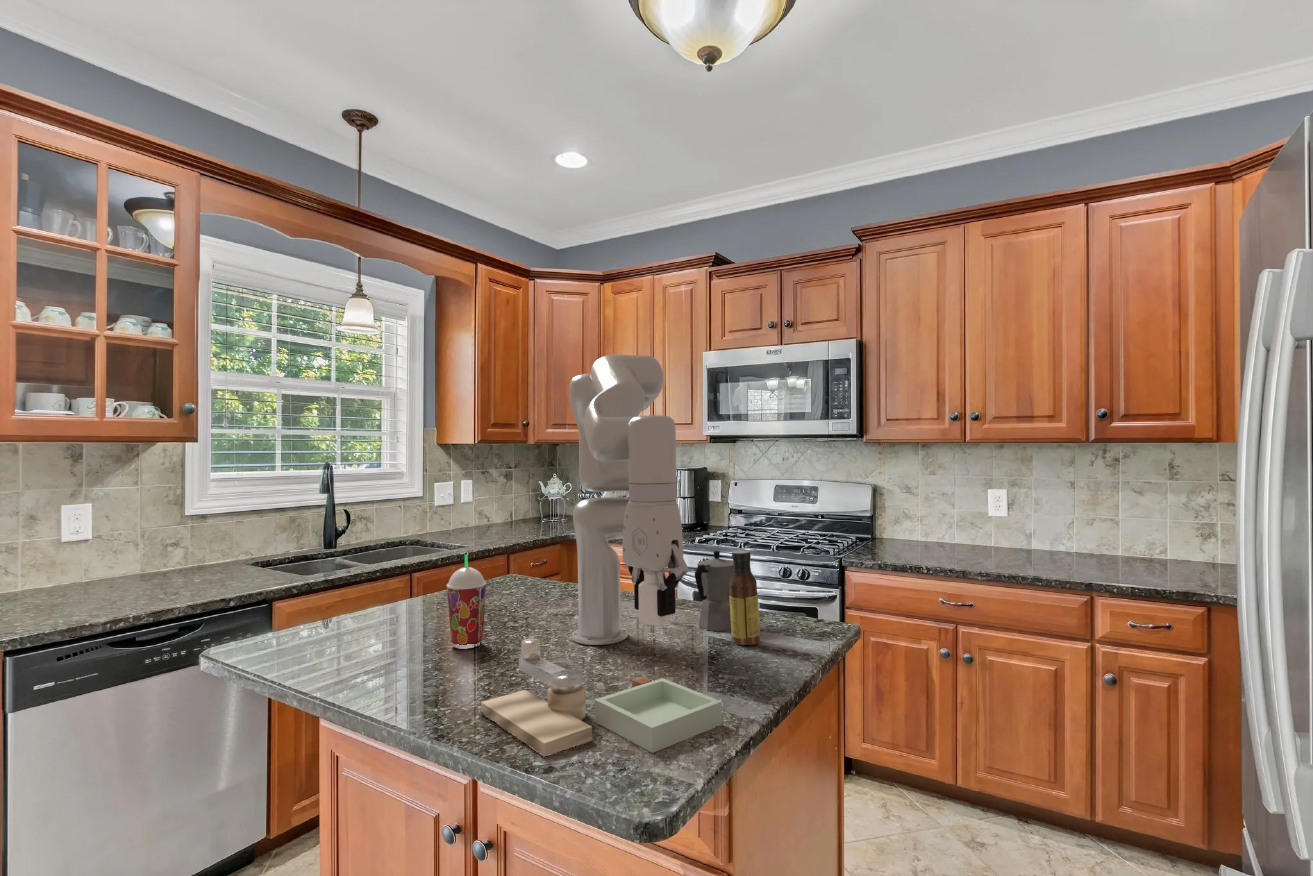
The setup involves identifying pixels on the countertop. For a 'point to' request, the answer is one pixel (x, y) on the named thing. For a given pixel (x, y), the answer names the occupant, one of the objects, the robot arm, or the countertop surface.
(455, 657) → the countertop surface
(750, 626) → the sauce bottle
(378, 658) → the countertop surface
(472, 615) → the smoothie
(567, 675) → the crank arm
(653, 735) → the tray
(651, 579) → the salt shaker
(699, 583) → the coffeepot
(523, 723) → the base
